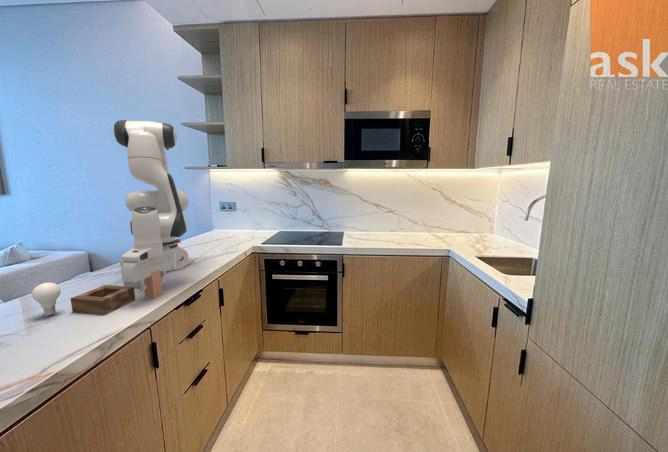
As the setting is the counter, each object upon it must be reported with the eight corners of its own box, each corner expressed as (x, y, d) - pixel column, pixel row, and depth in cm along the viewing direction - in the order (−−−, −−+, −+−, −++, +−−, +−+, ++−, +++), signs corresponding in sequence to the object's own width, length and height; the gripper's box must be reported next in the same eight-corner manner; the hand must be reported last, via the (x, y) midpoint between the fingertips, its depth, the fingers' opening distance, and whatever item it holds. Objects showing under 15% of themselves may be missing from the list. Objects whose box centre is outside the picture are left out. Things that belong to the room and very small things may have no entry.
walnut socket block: (107, 297, 102) (105, 284, 101) (135, 299, 100) (134, 286, 100) (72, 312, 90) (70, 298, 89) (104, 315, 89) (102, 300, 88)
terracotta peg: (153, 293, 106) (150, 269, 104) (162, 294, 105) (159, 269, 104) (144, 297, 102) (142, 272, 100) (154, 298, 101) (151, 273, 100)
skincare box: (145, 284, 115) (142, 257, 113) (139, 288, 111) (135, 260, 109) (130, 285, 114) (126, 257, 113) (122, 289, 110) (119, 260, 108)
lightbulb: (69, 310, 91) (64, 279, 90) (50, 320, 85) (45, 286, 83) (50, 310, 91) (45, 279, 89) (29, 320, 85) (23, 286, 83)
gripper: (162, 244, 111) (165, 276, 114) (116, 257, 91) (121, 296, 94) (176, 244, 111) (179, 277, 113) (133, 258, 91) (137, 297, 93)
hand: (152, 285), depth 103 cm, fingers open, 7 cm apart
